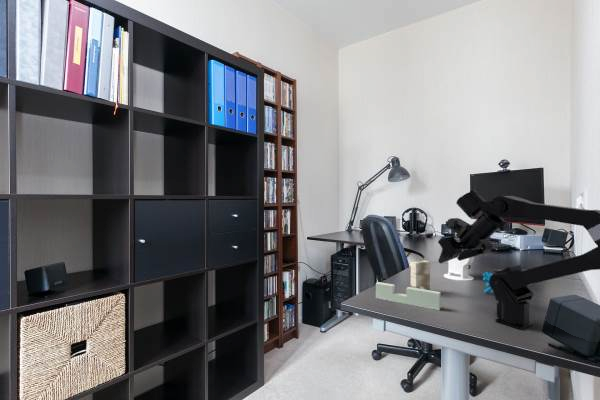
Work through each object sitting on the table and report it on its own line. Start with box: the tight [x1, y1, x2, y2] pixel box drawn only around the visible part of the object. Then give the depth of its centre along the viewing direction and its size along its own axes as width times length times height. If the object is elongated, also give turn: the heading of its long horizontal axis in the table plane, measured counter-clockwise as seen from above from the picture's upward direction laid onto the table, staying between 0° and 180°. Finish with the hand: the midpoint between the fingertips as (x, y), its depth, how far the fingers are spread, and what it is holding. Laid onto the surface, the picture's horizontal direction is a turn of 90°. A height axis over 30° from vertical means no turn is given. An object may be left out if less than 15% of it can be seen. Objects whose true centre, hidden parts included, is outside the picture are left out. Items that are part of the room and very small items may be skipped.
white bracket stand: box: [443, 256, 476, 282], centre depth 133 cm, size 12×11×15 cm
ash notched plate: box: [410, 259, 431, 291], centre depth 112 cm, size 7×2×11 cm, turn 118°
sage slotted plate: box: [375, 281, 442, 311], centre depth 101 cm, size 20×2×5 cm, turn 55°
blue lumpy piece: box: [482, 271, 494, 294], centre depth 110 cm, size 11×6×10 cm
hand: (449, 260), depth 102 cm, fingers open, 9 cm apart
